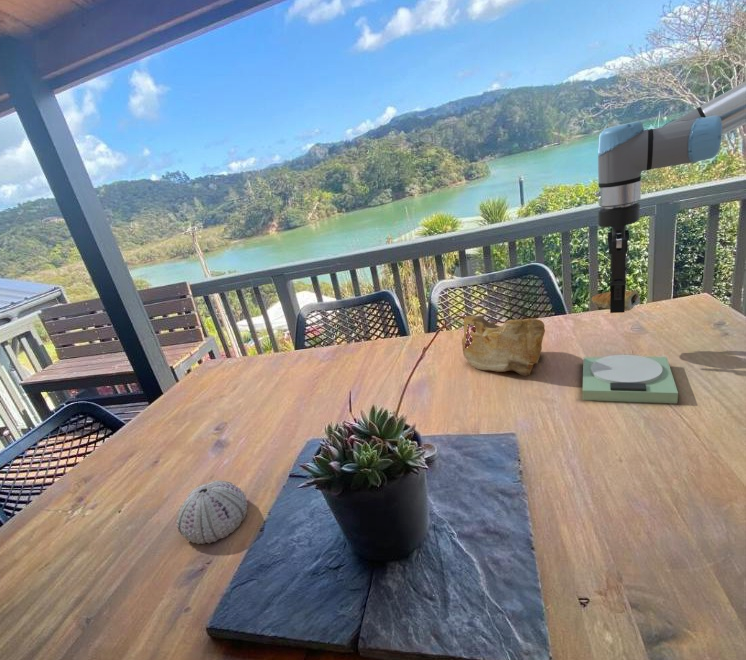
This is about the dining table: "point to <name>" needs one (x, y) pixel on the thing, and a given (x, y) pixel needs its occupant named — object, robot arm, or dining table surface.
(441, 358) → the dining table surface
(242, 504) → the sea urchin shell
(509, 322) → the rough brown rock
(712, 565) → the dining table surface
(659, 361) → the scale
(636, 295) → the pastry
